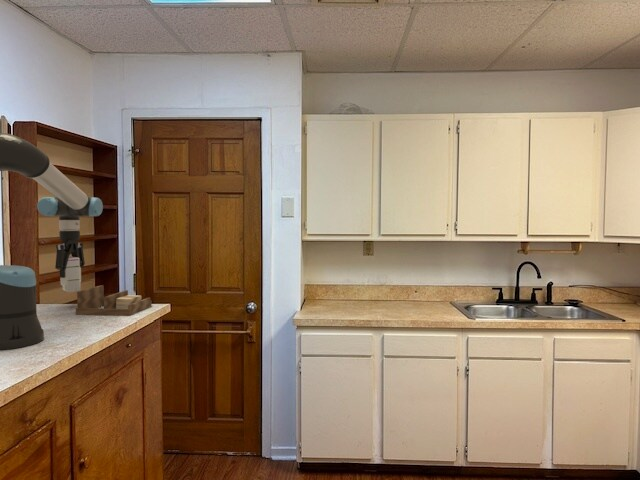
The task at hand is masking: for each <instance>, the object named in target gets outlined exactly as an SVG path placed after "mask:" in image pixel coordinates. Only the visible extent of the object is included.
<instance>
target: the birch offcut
mask: <svg viewBox="0 0 640 480" xmlns="http://www.w3.org/2000/svg"><path fill="white" fill-rule="evenodd" d="M141 300H142V295H135V294H128V295H127V296H123V297H120V298H116V306H128V305H130V304H133V303H135V302H138V301H141Z"/></svg>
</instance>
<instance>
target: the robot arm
mask: <svg viewBox="0 0 640 480" xmlns="http://www.w3.org/2000/svg"><path fill="white" fill-rule="evenodd" d="M6 171H7V172H13V173H18V174H21V175H22V176H23V177H25V178H28V179H32V180H34V181H35V182H37V183H38V185H40V186H42V187H43V188H44V189H46V190H47V191H48V192H49V193H51V194H52V195H53V196H44V197H42V198H40V199H39V200H38V202H37V204H36V206H37V211H38V212H39V214H41V216H46V217H49V218H50V217H58V230H60V231H59V232H58V234H59V240H61V244H56V245H55V247H56V248H55V249H56V257H55V266H54V267H55V270H58V271H59V278H60V279H59V280H60V286H62V285H68V270H66V266H67V262H68V259H69V257H70V255H71V257H78V258H79V262H80V283H82V268H84V266H85V257H84V256H85V255H84V249H83V248H84V243H83V242H79V241H78V240H80V238H81V231H80V227H81V225H80V223H81V221H80V220H81V219H80V217H90V218H91V217H99V216H100V215H101V214H102V213H103V209H104V205H103V201H102V199H100V198H99V197H94V196H92V197H91V196H88V195H87V194H86V193H85V192H84V191H83V190H81V188H79V187H78V186H77V185H76V184H75V183H74V182H73V181H72V180H70V179H69V178H68V176H66V175H65V174H63V172H61V171H60V170H59V169H58V168H57V167H56V166H55V165H53V164H52V163H51V160H50V157H49V156H48V155H47V154H46V153H45V152H44V151H43V150H41V149H40V148H39V147H37V146H35V145H34V144H32V143H31V142H29V141H27V140H25V139H23V138H22V137H19V136H16V135H14V134H11V133H8V132H7V133H6V132H0V172H6ZM44 339H45V332H44V329H43V328H42V325H41V322H40V320H39V317H38V315H37V280H36V272H35V270H33V268H31V267H28V266H22V265H13V264H12V265H8V264H0V351H1V350H10V349H19V348H23V347H28V346H32V345H35V344H38V343H40V342H42V341H43V340H44Z"/></svg>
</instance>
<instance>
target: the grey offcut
mask: <svg viewBox="0 0 640 480" xmlns="http://www.w3.org/2000/svg"><path fill="white" fill-rule="evenodd" d="M116 309H128V306H116Z"/></svg>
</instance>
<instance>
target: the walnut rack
mask: <svg viewBox="0 0 640 480" xmlns="http://www.w3.org/2000/svg"><path fill="white" fill-rule="evenodd" d="M104 290H105V289H104V284H103V285H97V286H93V287H89V288H85V289H81V291H76V298H77V299H76V300H77V306H76V308H75V315H76V316H77V315H81V316H82V315H83V316H116V317H117V316H118V317H120V316H121V317H130V316H132V315H135V314H137V313H139V312H142V311H144V310H147V309H149V308H151V307H153V304H152V300H151V297H145V298H144V299H141V301H138V302H135V303H133V304H130V305H128V309H116V298H120V297H123V296H127V295H129V290H128V289H126V290H123V291H122V290H121V291H120V292H119V291H118V292H116V293H112V294H109V295H107V296H104V295H105V294H104V293H105V291H104ZM100 306H102V307H103V308H102V307H100ZM98 307H99V308H98Z"/></svg>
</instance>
